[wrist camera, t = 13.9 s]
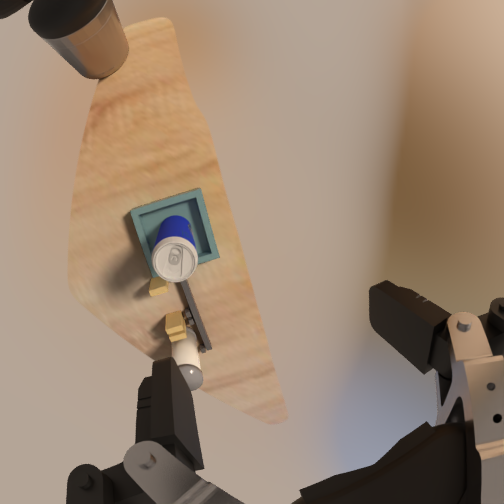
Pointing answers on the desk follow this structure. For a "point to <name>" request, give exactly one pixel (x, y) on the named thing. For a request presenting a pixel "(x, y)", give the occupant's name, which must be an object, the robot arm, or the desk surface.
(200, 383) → the fuse
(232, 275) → the desk surface
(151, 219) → the tray
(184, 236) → the beverage can
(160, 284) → the fuse block
